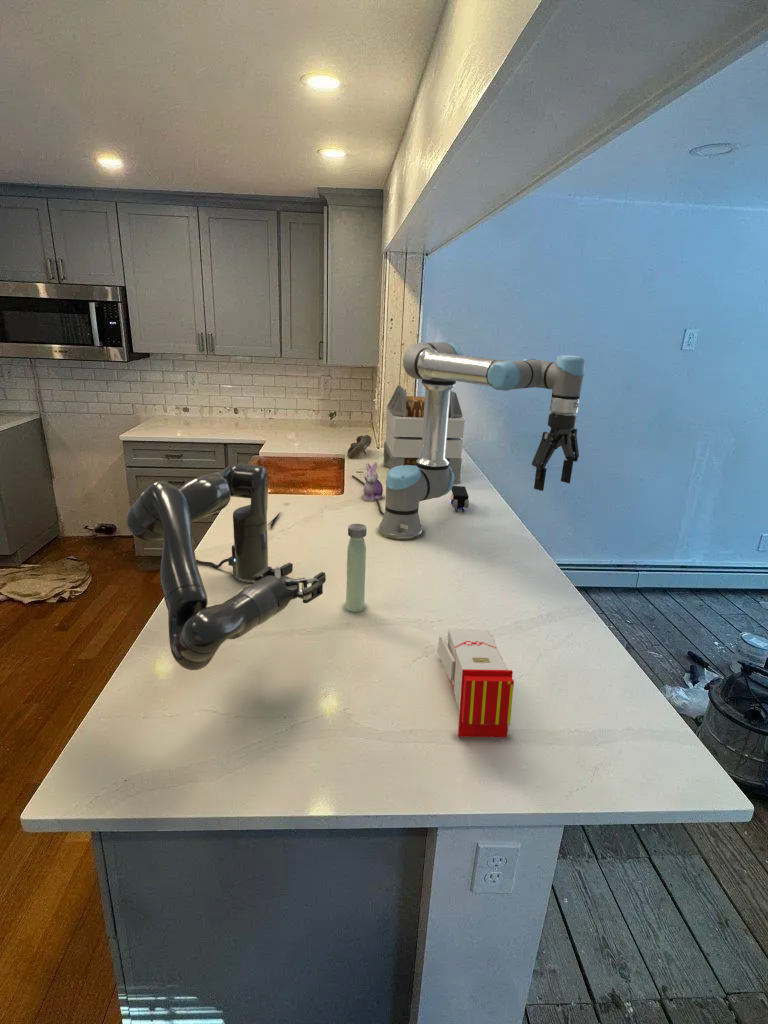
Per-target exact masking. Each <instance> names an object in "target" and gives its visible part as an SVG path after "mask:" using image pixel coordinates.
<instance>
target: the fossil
mask: <svg viewBox="0 0 768 1024" xmlns="http://www.w3.org/2000/svg"><path fill="white" fill-rule="evenodd" d="M355 441H356V442H352V443H350V446H349V448H348V449H347V457H348V458H349V459H355V458H357V457H359V456H360V455H361V454H362V453H364V455H367V453H366V450H367V448H368V447H370V446H371V444H372V437H371V435H369V434H366V435H359V436H357V437H356V440H355Z"/></svg>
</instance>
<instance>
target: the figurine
mask: <svg viewBox="0 0 768 1024" xmlns="http://www.w3.org/2000/svg"><path fill="white" fill-rule="evenodd" d="M365 464H366V465H365V466H366V467H365V470H366V471H365V474H364V475H363V476H364V480H365V482H364V483H365V485H363V495H362V498H363V500H364V501H368V502H373V501H376V499H378V501H379V500H381V499H382V498H383V493H384V487H383V483H382V482H381V481H380V480H379V475H378V473H377V468H378V462H377V461H375V462H374V463H373V464H372V465H370V463H369V462H366V463H365Z"/></svg>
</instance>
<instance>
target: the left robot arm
mask: <svg viewBox="0 0 768 1024" xmlns="http://www.w3.org/2000/svg"><path fill="white" fill-rule="evenodd" d="M268 497H269V475H268V471H267V469H266V468H265V466H263V465H257V464H247V463H233V464H230V465H228V466H227V467H225V468H223V469H221V470H219V471H218V472H213V473H210V474H205V475H201V476H198V477H195V478H193V479H191V480H189V481H187V482H186V483H184V484H183V485H181V486H180V487H176V486H175V485H173V484H171V483H169V482H166V481H160V480H159V481H155V482H153V483H152V484H151V485H149V486H148V487H147V488H145V490H144V491H143V492H142V493H141V494H140V495H139V497H138V498H137V499H136V500H135V501H134V502H133V504H132V505H131V506H130V507H129V509H128V511H127V514H126V517H125V521H126V522H125V523H126V527H127V529H128V530H129V531H130V533H131V534H132V535H133V536H134V537H137V538H138V539H141V540H143V541H147V542H159V541H163V542H162V551H161V559H160V567H159V580H160V581H159V582H160V588H161V592H162V594H163V598H164V602H165V606H166V608H167V609H166V610H167V614H168V617H167V618H168V619H167V621H168V622H167V623H168V641H169V648H170V652H171V654H172V657H173V658H174V661H175V662H176V663H177V664H178V665H179V666H180V667H182V668H183V669H185V670H188V671H199V670H202V669H203V668H205V667H206V666H208V664H209V663H211V661H212V660H213V658H214V657H215V655H216V653H217V652H218V650H219V648H220V647H221V646H222V644H223V643H224V642H225V641H226V640H235V639H239V638H241V637H243V636H244V635H246V634H247V633H249V632H250V631H252V630H253V629H255V628H256V627H258V626H260V625H261V624H264V623H266V622H267V621H268V620H270V619H271V618H273V617H274V616H276V615H277V614H279V613H280V612H281V611H283V610H284V609H285V608H287V606H288V605H289V603H290V602H291V601H292V600H295V599H298V598H299V599H301V600H302V603H303V604H309V603H310V602H312V601H313V600H315V599H317V598H318V597H319V596H321V595H322V594H324V590H323V589H324V584H325V583H326V581H327V580H326V579H327V578H326V577H327V575H326V572H324V571H320V572H319V573H318V574H316V575H315V576H313V577H312V578H311V577H310V578H305V577H297V578H293V577H289V576H288V575H290V574H291V573H293V571H294V570H293V563H291V562H288V563H285V564H284V565H281V566H280V567H275V568H273V567H272V566H269V545H268V526H267V525H268V507H269V501H268V500H269V499H268ZM231 498H241V499H250V504H248V505H244V506H240V507H237V508H236V509H235V510H234V511H233V513H232V527H233V543H234V544H232V545H231V556H230V557H228V558H225V559H222V560H221V561H220V562H219V563H218V564H216V563H214V562H211V561H203V560H199V559H197V557H196V552H195V551H196V550H195V544H194V543H195V542H194V535H193V526H192V523H194V522H197V521H199V520H202V519H204V518H206V517H208V516H209V517H210V516H211V515H214V514H216V513H219V512H220V511H222V510H223V509H225V508H226V507H227V506H228V505H229V503H230V502H231ZM225 563H228V566H231V567H232V576H233V577H235V579H236V580H237V581H239V582H241V583H244V584H245V583H246V584H250V585H247V586H246V587H244V588H243V589H241V590H240V591H239V592H237V594H235V595H233V596H232V597H230V598H229V599H227V600H225V601H224V602H222V603H219V604H218V603H217V604H214V605H211V606H208V603H209V601H208V600H209V599H208V595H207V592H206V588H205V585H204V583H203V579H202V577H201V573H200V570H199V567H198V564H199V565H207V566H212V567H213V568H214V569H219V568H220V567H222V566H223V564H225ZM300 584H301V589H300ZM309 584H310V586H308V585H309Z"/></svg>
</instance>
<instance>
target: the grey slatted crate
mask: <svg viewBox="0 0 768 1024" xmlns="http://www.w3.org/2000/svg"><path fill="white" fill-rule="evenodd" d="M407 394H408V393H407V390H406V389H404V388H403V387H402V385H399V384H398V385H397V386H396V388H395V390H394V392H393V394H392V395H391V398H390V400H389V402H388V404H387V405H386V413H385V414H386V415H385V423H386V428H385V438H384V442H383V466H384V467H388V468H389V470H390V469H392V468H394V467H396V466H401V465H404V466H405V465H413V466H416V461H417V459H418V458H420V457H421V449H422V434H423V419H424V404H425V396H415V395H414V396H413V395H412V396H411V395H407ZM464 429H465V419H464V418H463V411H462V408H461V405H460V402H459V398H458V395H457V392H455V391H453V390H451V392H450V404H449V416H448V428H447V441H446V453H445V458H446V459H447V461H448V462H449V466H450V467H451V469H452V473H454V484H455V483H456V484H459V483H461V472H462V461H463V460H462V453H463V442H464V441H463V440H462V439H463V438H464V431H465V430H464Z"/></svg>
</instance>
